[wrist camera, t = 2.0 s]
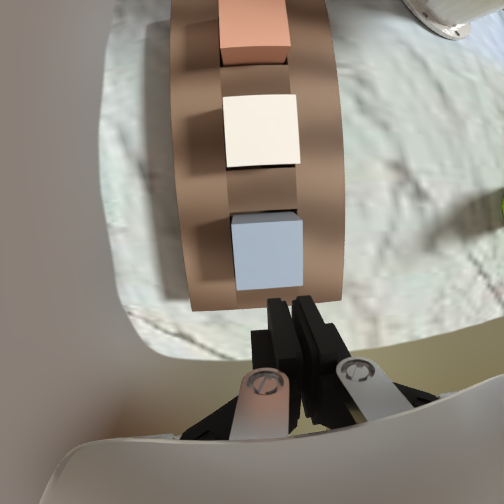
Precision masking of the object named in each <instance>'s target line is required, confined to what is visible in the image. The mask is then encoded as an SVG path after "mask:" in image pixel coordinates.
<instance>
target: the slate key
mask: <svg viewBox="0 0 504 504" xmlns="http://www.w3.org/2000/svg"><path fill="white" fill-rule="evenodd" d="M231 227H232V239H233V252H234V264H235V275H236V287H237V290H252V289H266V288H279V287H292V286H303V220H302V219H301V218H299V217H298V216H297V215H296V214H295V213H294V212H274V213H257V214H242V215H233V219H232V224H231Z"/></svg>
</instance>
